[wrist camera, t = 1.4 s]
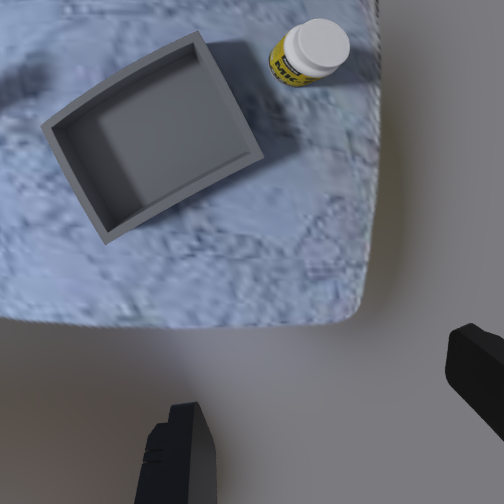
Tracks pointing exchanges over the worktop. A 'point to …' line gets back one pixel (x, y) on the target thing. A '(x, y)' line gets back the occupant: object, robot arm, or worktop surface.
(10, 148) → the worktop surface
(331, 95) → the worktop surface
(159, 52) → the tray
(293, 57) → the supplement bottle
